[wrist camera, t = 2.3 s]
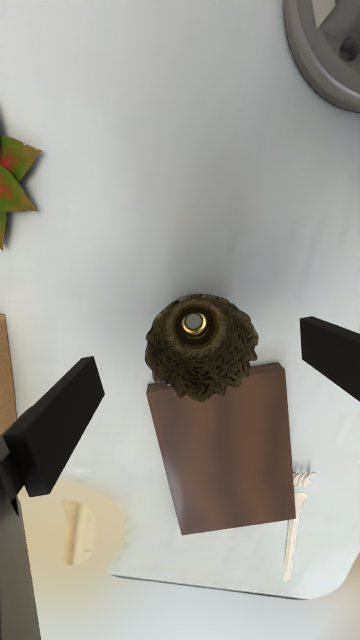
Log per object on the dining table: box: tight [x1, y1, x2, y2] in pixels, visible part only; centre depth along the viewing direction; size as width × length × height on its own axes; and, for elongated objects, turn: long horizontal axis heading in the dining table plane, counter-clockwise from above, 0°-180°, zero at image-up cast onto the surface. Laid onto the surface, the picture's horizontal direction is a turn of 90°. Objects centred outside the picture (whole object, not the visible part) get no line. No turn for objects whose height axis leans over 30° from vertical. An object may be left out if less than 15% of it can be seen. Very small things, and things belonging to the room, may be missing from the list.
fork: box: [283, 472, 315, 581], centre depth 28 cm, size 3×20×2 cm, turn 2°
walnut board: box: [146, 363, 296, 535], centre depth 25 cm, size 14×20×2 cm
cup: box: [145, 294, 259, 403], centre depth 18 cm, size 7×7×8 cm
